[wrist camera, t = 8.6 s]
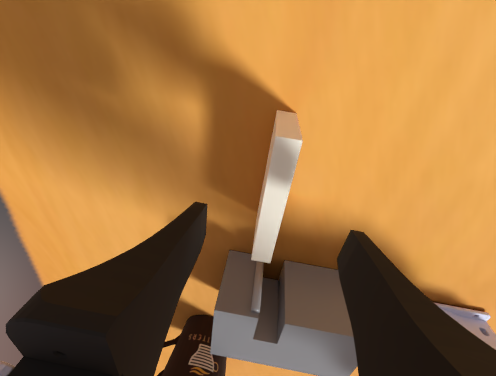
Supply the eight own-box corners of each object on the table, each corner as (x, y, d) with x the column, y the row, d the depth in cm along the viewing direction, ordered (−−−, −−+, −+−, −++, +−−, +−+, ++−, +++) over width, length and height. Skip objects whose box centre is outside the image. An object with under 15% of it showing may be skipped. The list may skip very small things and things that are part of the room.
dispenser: (358, 269, 26) (380, 338, 20) (332, 314, 30) (344, 380, 24) (229, 246, 26) (214, 306, 20) (224, 293, 31) (210, 353, 25)
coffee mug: (248, 333, 35) (237, 426, 27) (209, 347, 39) (189, 433, 30) (187, 291, 31) (152, 383, 23) (151, 311, 35) (110, 397, 27)
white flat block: (296, 113, 18) (302, 140, 13) (272, 215, 23) (270, 263, 18) (276, 109, 18) (275, 136, 13) (257, 212, 24) (251, 259, 18)
